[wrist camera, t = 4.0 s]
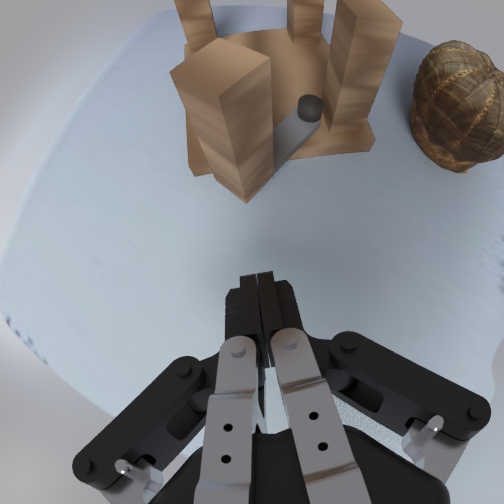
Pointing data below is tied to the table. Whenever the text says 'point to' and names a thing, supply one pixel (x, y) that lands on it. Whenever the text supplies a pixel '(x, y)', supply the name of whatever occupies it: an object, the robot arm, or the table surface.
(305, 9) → the wooden peg stand
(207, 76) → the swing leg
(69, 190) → the table surface
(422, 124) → the shell
